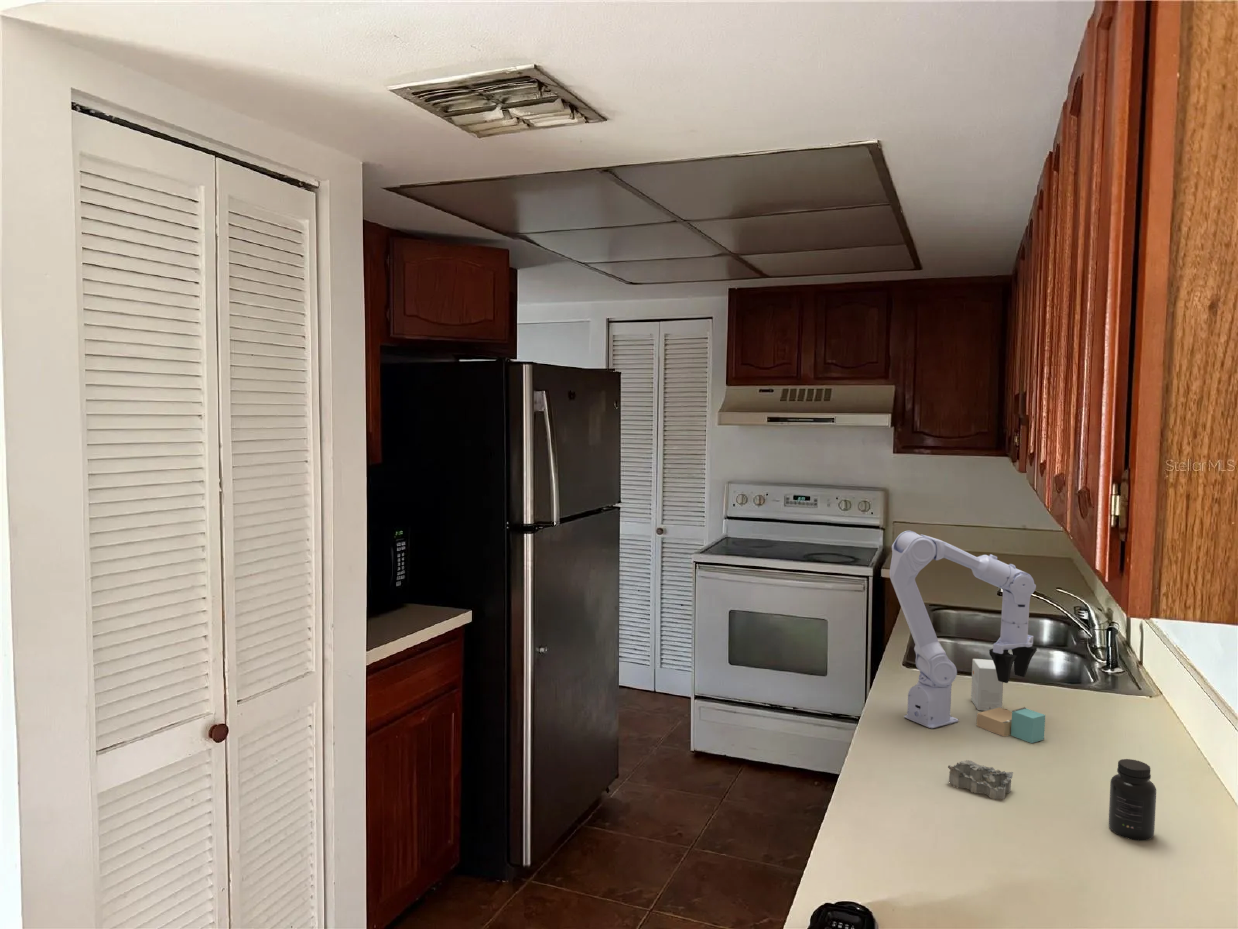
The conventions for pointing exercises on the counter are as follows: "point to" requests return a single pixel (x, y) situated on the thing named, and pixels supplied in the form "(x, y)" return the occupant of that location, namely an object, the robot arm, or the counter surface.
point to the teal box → (1028, 725)
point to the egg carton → (980, 779)
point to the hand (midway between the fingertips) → (1011, 678)
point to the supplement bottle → (1132, 801)
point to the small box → (985, 685)
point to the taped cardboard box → (996, 721)
